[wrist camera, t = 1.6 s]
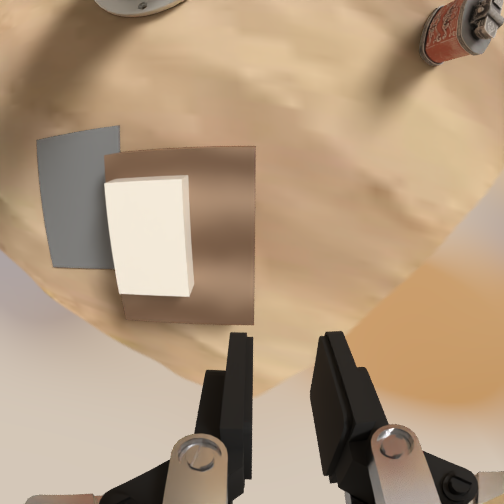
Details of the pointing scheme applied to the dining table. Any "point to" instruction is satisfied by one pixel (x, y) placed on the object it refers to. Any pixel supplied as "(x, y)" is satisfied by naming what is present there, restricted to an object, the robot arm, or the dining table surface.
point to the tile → (151, 235)
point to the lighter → (460, 30)
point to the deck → (204, 232)
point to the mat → (77, 196)
